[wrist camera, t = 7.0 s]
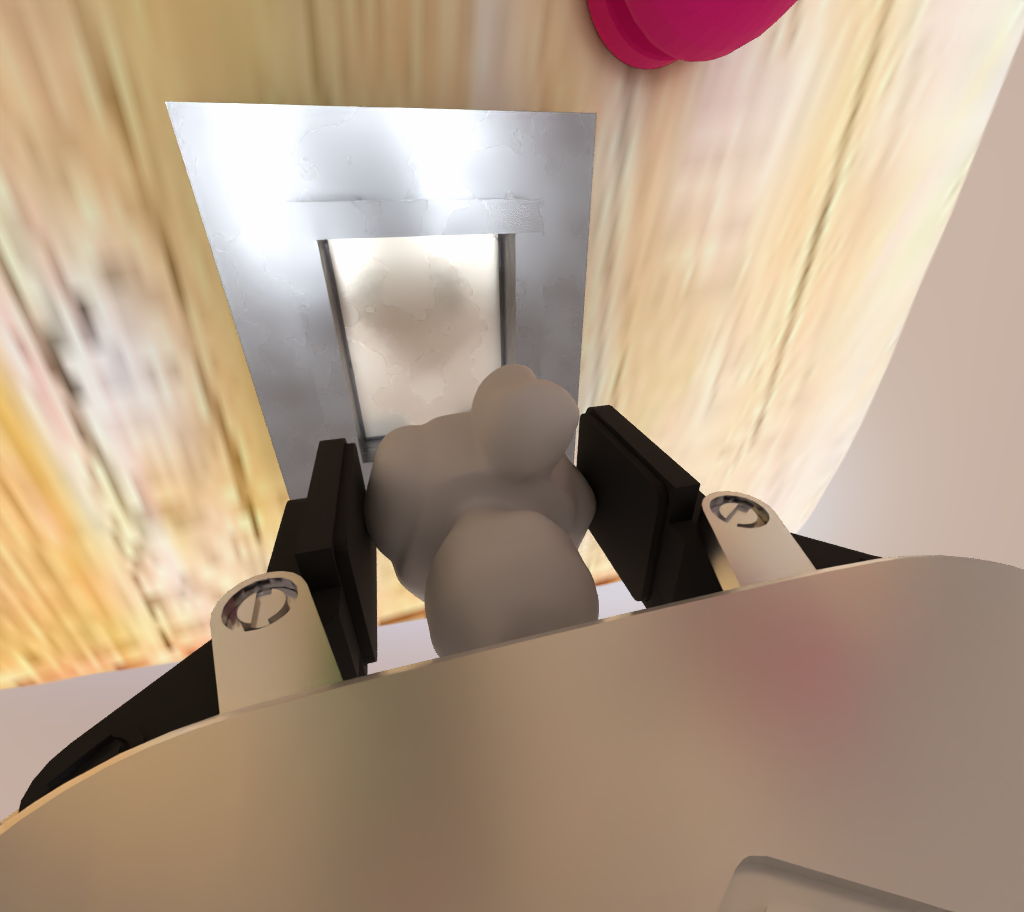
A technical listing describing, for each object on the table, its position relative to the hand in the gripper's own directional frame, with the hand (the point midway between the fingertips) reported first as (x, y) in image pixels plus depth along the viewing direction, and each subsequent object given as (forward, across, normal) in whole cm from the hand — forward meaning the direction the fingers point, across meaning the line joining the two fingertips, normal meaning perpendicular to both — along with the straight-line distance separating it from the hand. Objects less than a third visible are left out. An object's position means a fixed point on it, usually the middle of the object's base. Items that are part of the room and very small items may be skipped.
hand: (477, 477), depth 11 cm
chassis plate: (+14, 0, 0) cm, 14 cm away
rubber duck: (+2, 0, 0) cm, 2 cm away
